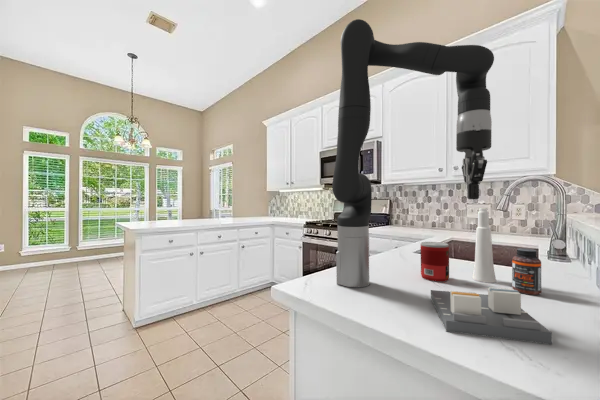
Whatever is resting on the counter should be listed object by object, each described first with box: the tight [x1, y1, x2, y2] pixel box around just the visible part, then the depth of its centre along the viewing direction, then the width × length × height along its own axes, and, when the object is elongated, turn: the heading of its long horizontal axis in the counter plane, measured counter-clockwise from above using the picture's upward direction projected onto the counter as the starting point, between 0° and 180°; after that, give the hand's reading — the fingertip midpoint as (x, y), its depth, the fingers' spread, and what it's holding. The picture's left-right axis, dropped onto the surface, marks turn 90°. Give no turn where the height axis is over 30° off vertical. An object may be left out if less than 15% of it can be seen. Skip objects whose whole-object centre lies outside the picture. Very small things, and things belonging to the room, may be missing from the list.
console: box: [430, 289, 553, 345], centre depth 56 cm, size 16×18×3 cm
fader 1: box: [449, 290, 481, 315], centre depth 52 cm, size 5×3×4 cm, turn 72°
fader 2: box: [487, 286, 522, 315], centre depth 54 cm, size 5×3×4 cm, turn 72°
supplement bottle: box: [511, 247, 542, 296], centre depth 71 cm, size 6×6×11 cm
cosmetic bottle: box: [471, 207, 497, 284], centre depth 82 cm, size 6×6×22 cm
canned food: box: [420, 241, 450, 283], centre depth 84 cm, size 8×8×11 cm
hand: (473, 199), depth 68 cm, fingers closed
